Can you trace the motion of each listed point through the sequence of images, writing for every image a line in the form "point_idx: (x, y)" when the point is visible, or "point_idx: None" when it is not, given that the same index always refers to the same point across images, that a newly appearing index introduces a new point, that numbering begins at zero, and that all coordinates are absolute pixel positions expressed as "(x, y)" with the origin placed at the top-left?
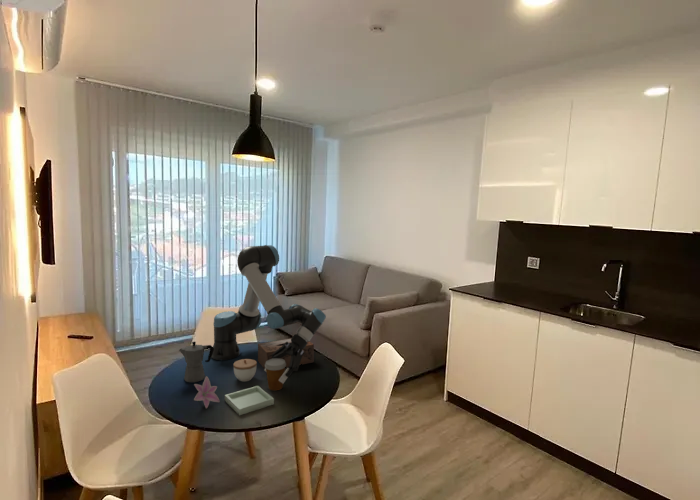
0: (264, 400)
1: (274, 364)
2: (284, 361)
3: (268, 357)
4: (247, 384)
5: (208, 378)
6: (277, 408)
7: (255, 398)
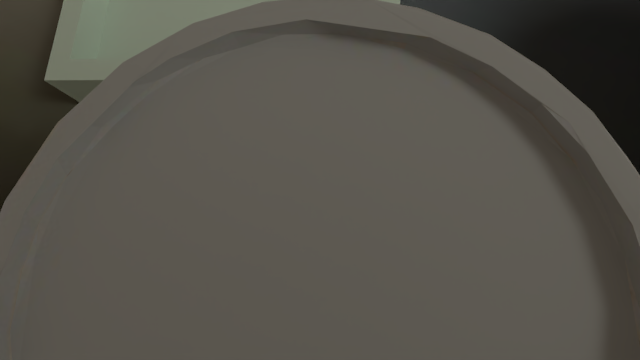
0: (79, 2)
1: (191, 199)
2: None
3: None
4: (620, 89)
5: None
6: (15, 96)
7: (232, 2)
